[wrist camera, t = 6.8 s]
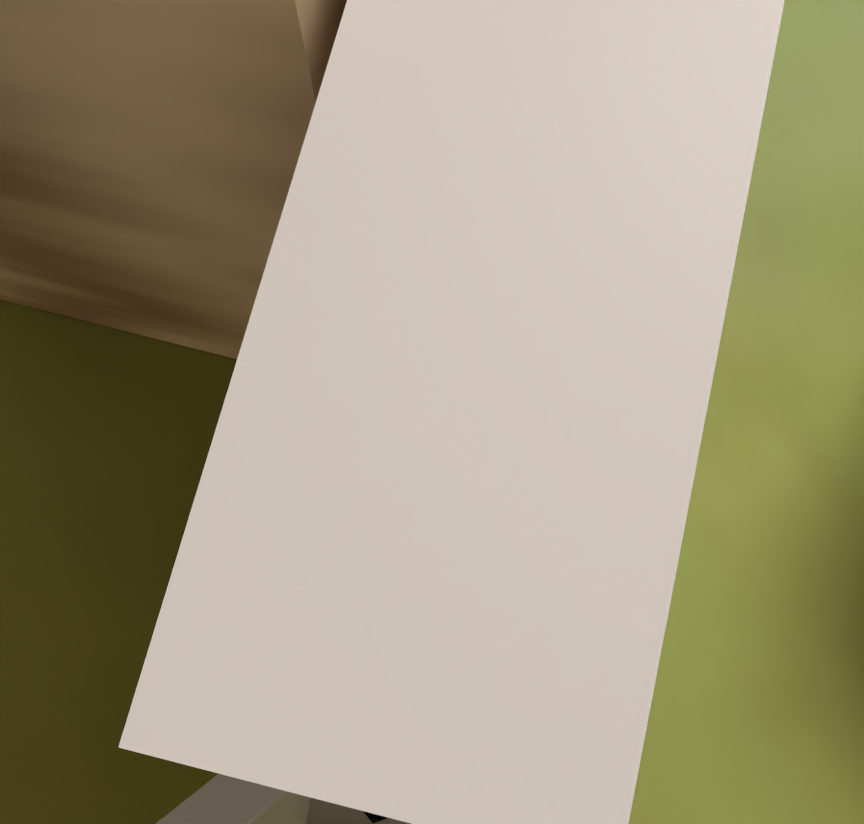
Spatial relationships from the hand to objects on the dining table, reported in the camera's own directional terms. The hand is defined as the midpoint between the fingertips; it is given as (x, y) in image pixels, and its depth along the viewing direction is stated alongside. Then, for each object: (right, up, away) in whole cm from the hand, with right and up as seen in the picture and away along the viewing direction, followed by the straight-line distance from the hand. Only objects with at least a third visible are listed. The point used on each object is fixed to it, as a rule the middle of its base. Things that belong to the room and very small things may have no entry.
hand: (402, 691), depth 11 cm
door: (+1, +6, +6) cm, 8 cm away
